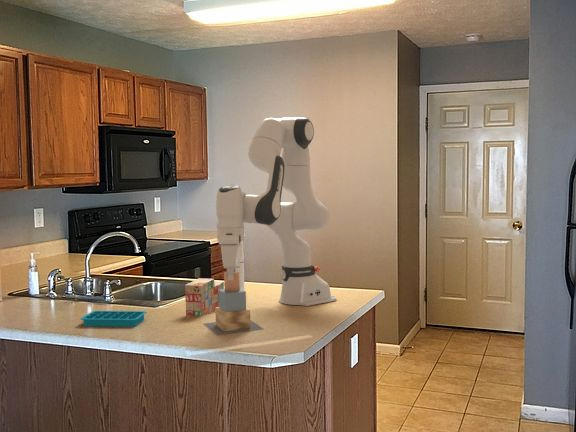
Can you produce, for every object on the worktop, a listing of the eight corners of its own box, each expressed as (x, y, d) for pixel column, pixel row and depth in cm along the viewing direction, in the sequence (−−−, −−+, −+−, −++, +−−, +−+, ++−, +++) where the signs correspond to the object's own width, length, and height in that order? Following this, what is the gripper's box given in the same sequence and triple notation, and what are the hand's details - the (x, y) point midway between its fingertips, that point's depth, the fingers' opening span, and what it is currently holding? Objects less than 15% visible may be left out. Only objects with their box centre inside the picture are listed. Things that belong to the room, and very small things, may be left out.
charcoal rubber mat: (247, 320, 221) (247, 318, 221) (264, 332, 206) (264, 329, 206) (202, 326, 215) (202, 323, 214) (217, 338, 200) (217, 335, 200)
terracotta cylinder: (236, 288, 213) (236, 270, 212) (242, 291, 208) (241, 273, 208) (222, 289, 211) (222, 272, 210) (227, 292, 206) (226, 274, 206)
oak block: (241, 321, 216) (240, 304, 216) (250, 327, 208) (250, 309, 208) (215, 324, 213) (215, 307, 212) (224, 331, 205) (223, 313, 204)
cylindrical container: (247, 290, 271) (246, 232, 269) (235, 293, 266) (234, 234, 264) (236, 288, 276) (234, 231, 274) (224, 291, 271) (222, 233, 268)
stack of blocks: (209, 304, 247) (209, 273, 246) (224, 305, 245) (224, 274, 244) (185, 318, 227) (184, 284, 226) (202, 319, 225) (201, 285, 224)
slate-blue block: (239, 305, 214) (238, 287, 214) (246, 309, 208) (245, 291, 208) (219, 307, 212) (218, 289, 211) (225, 312, 205) (225, 293, 205)
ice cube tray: (136, 328, 215) (136, 319, 215) (79, 327, 218) (79, 319, 217) (148, 319, 227) (147, 311, 227) (93, 318, 229) (93, 310, 229)
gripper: (223, 231, 218) (224, 271, 219) (218, 239, 198) (219, 283, 199) (242, 231, 218) (243, 271, 219) (238, 239, 198) (239, 283, 199)
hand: (231, 277), depth 209 cm, fingers open, 8 cm apart
